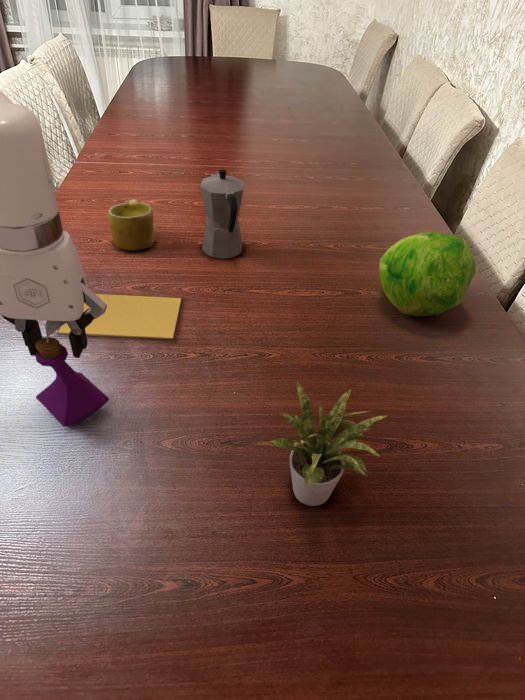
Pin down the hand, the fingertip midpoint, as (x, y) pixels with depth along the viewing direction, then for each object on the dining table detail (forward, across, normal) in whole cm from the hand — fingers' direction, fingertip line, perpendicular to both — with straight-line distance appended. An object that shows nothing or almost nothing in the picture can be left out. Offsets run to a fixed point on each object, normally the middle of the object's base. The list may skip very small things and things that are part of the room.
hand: (58, 348), depth 70 cm
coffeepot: (+13, +19, +49) cm, 54 cm away
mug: (+13, -1, +52) cm, 54 cm away
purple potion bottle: (+13, 0, 0) cm, 13 cm away
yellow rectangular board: (+13, +2, +24) cm, 27 cm away
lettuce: (+13, +58, +32) cm, 68 cm away
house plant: (+13, +35, -13) cm, 40 cm away
